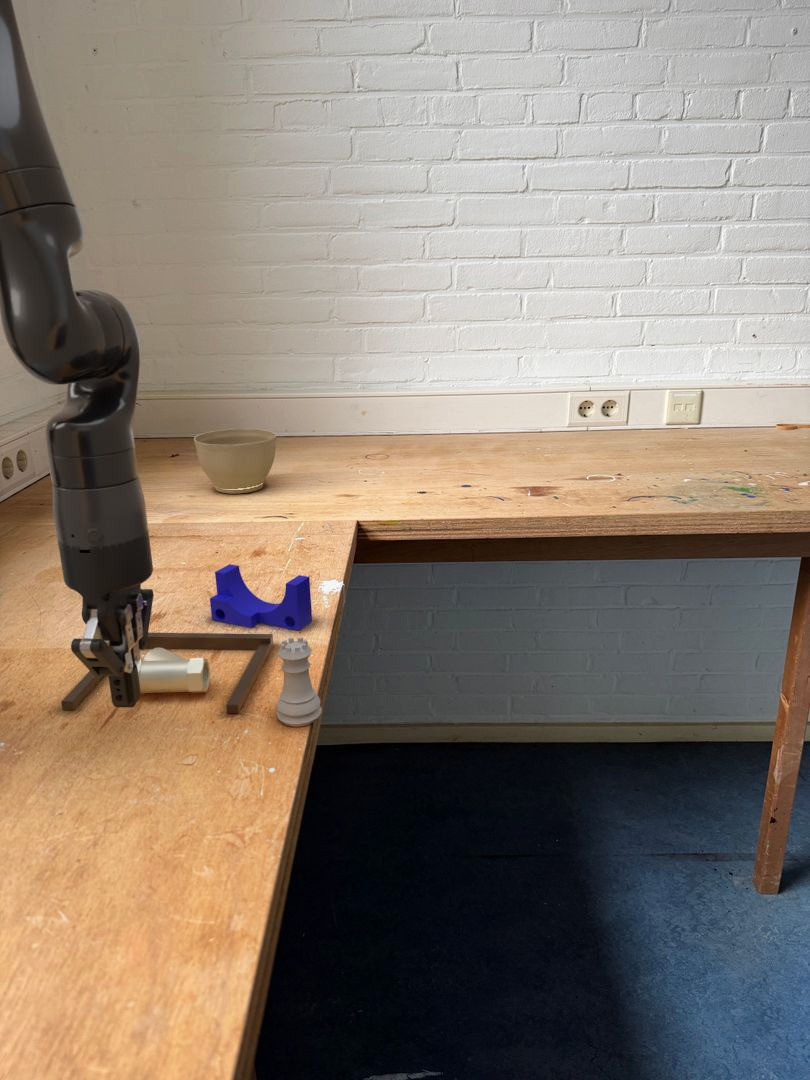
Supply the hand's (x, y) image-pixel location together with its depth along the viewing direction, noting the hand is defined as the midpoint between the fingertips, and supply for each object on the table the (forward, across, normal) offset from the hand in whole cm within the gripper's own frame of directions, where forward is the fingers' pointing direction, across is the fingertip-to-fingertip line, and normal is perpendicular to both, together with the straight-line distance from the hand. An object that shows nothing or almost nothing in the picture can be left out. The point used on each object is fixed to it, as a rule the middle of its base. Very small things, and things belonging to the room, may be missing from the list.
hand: (127, 703), depth 75 cm
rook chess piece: (+3, -4, +16) cm, 16 cm away
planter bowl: (+3, -90, -14) cm, 91 cm away
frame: (+3, -11, 0) cm, 11 cm away
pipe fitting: (+3, -9, +1) cm, 10 cm away
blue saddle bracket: (+3, -26, +6) cm, 27 cm away
